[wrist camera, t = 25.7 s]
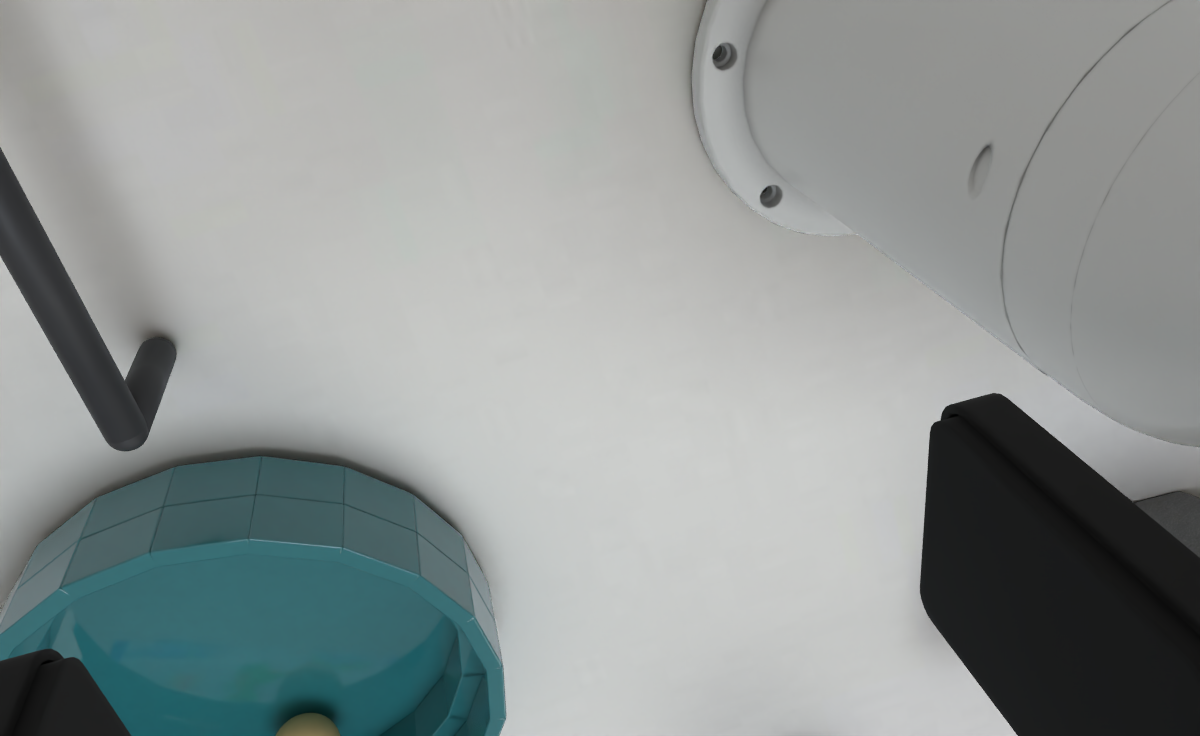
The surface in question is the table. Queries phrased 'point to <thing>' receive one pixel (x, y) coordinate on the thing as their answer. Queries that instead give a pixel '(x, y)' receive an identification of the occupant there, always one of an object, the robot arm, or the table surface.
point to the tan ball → (309, 726)
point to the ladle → (79, 327)
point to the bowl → (266, 605)
